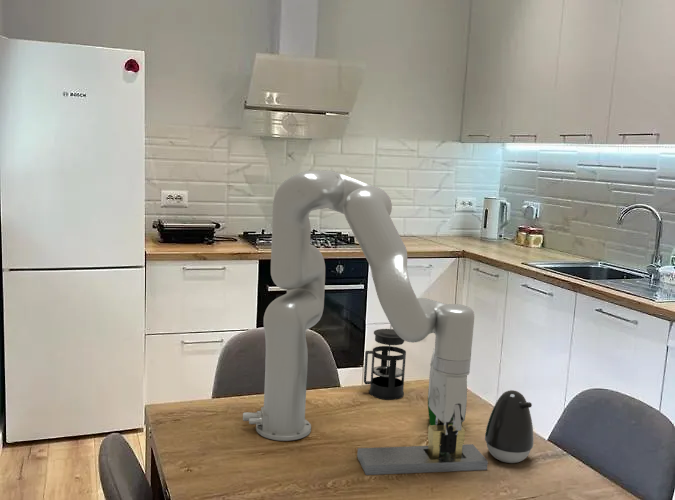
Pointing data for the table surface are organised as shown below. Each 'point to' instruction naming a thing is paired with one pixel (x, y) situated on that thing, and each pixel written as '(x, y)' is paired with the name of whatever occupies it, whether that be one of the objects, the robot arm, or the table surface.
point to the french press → (387, 381)
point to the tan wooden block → (435, 442)
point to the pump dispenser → (510, 428)
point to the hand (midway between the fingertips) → (444, 447)
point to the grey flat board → (417, 460)
